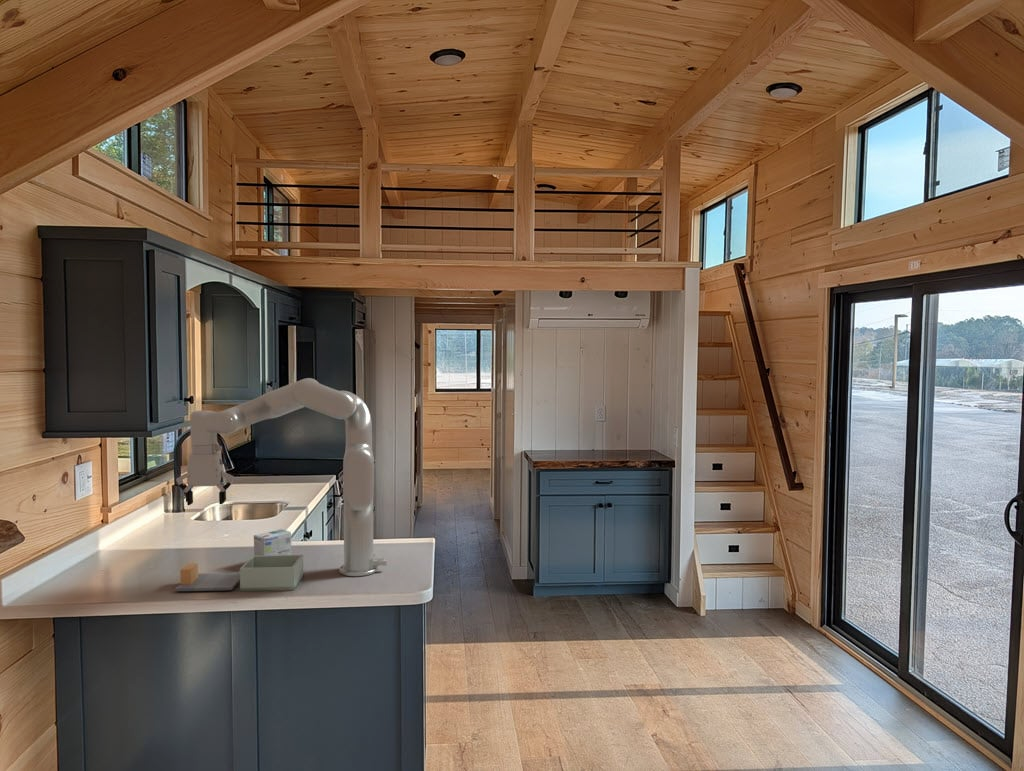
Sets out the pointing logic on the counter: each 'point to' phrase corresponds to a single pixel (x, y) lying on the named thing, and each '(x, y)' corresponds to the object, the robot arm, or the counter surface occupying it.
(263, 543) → the light bulb box
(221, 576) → the snap lid
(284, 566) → the parts tub
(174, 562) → the counter surface
